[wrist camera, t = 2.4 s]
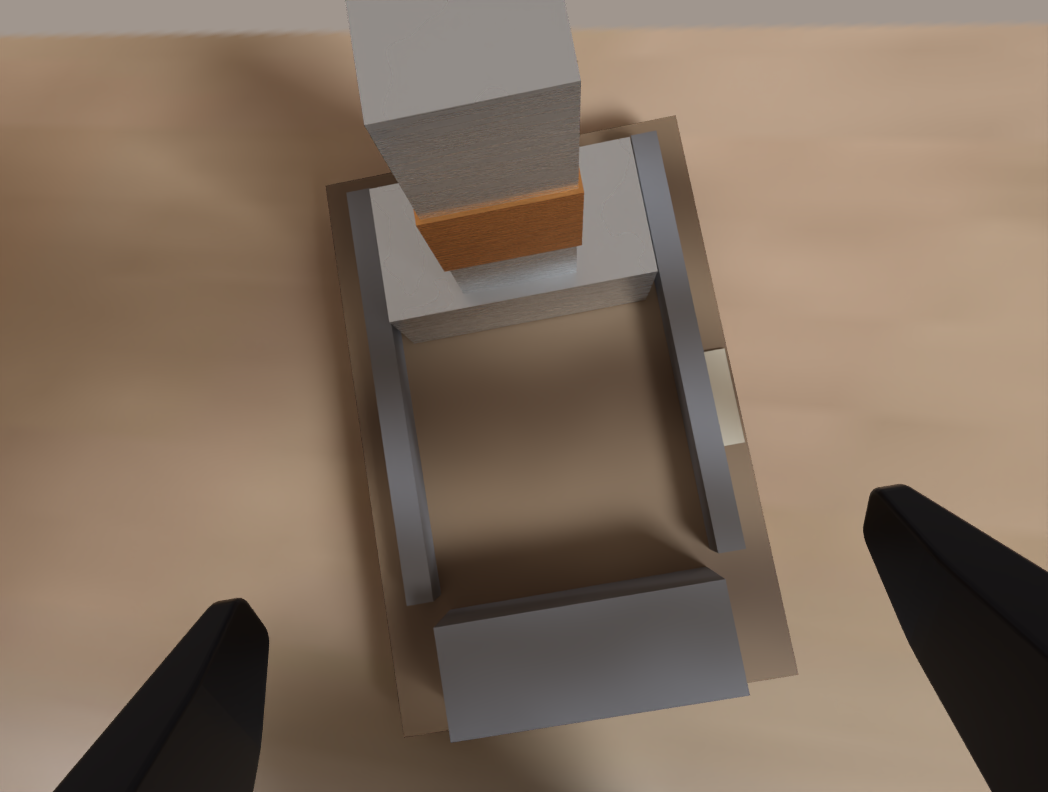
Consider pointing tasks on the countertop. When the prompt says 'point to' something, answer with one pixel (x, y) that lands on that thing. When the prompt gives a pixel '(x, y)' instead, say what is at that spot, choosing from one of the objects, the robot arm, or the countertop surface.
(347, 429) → the countertop surface
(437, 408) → the base
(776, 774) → the countertop surface
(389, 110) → the sliding jaw
